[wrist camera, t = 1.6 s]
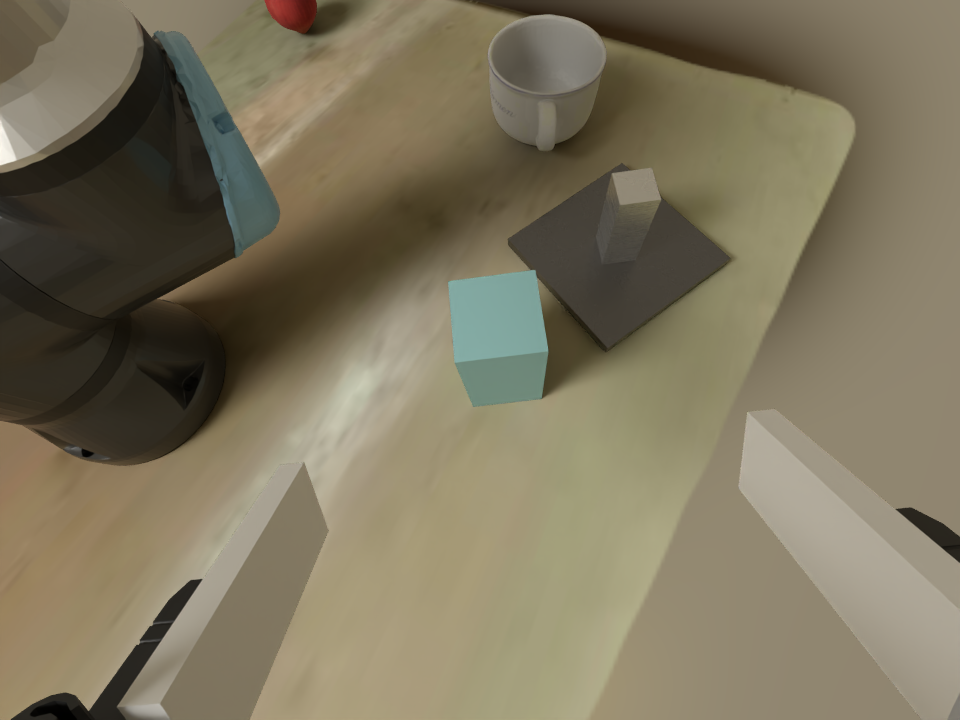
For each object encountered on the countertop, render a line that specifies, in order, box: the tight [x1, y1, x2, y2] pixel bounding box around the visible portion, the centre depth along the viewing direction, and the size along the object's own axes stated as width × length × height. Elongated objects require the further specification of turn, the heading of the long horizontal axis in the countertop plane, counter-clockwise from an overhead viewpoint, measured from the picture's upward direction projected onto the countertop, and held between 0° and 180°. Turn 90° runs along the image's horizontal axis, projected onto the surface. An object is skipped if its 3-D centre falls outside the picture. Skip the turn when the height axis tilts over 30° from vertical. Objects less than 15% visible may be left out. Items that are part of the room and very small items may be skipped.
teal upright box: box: [448, 270, 548, 407], centre depth 34 cm, size 6×6×11 cm
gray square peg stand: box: [508, 163, 730, 352], centre depth 38 cm, size 14×14×9 cm
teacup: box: [488, 14, 607, 151], centre depth 44 cm, size 14×11×8 cm
